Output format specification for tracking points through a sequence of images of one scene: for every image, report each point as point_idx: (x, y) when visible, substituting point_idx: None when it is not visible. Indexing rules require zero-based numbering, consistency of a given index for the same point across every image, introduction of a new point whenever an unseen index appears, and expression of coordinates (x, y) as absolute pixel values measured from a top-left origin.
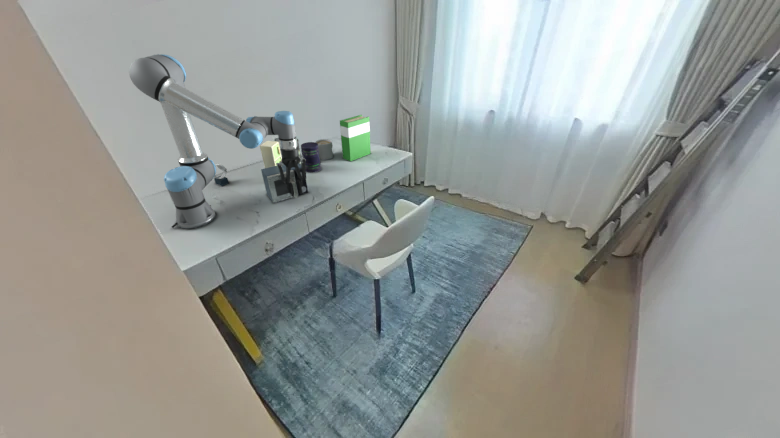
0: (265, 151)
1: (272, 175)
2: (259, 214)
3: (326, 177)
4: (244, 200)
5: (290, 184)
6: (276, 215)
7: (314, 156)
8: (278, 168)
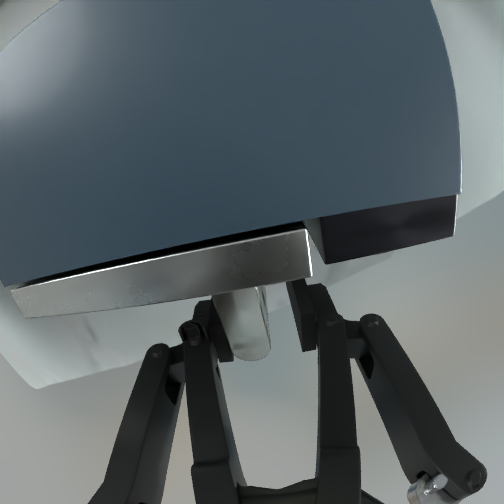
0: None
1: (42, 295)
2: None
3: (460, 47)
4: None
5: (223, 358)
6: (148, 324)
7: None
8: (77, 92)
